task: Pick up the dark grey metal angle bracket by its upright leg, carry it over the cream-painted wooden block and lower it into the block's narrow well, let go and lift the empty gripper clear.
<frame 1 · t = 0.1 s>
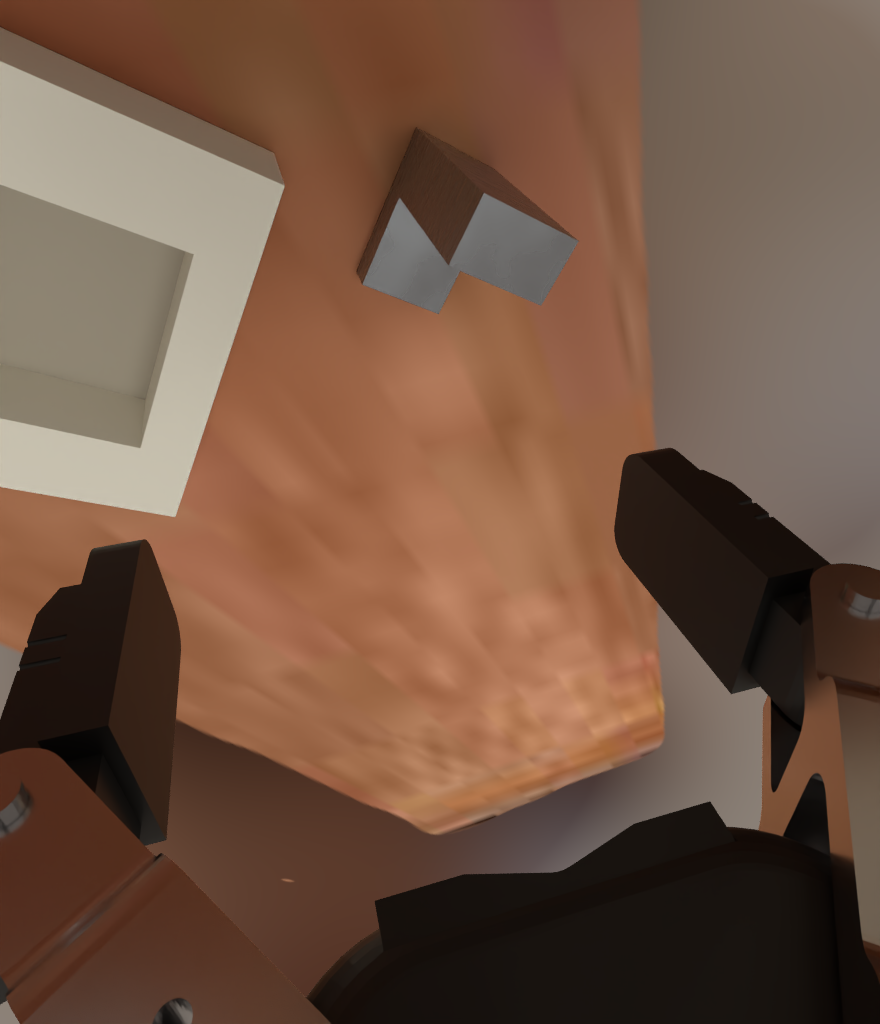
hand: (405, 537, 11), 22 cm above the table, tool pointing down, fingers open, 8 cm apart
well block: (74, 281, 28), on the table
bracket: (443, 177, 29), on the table
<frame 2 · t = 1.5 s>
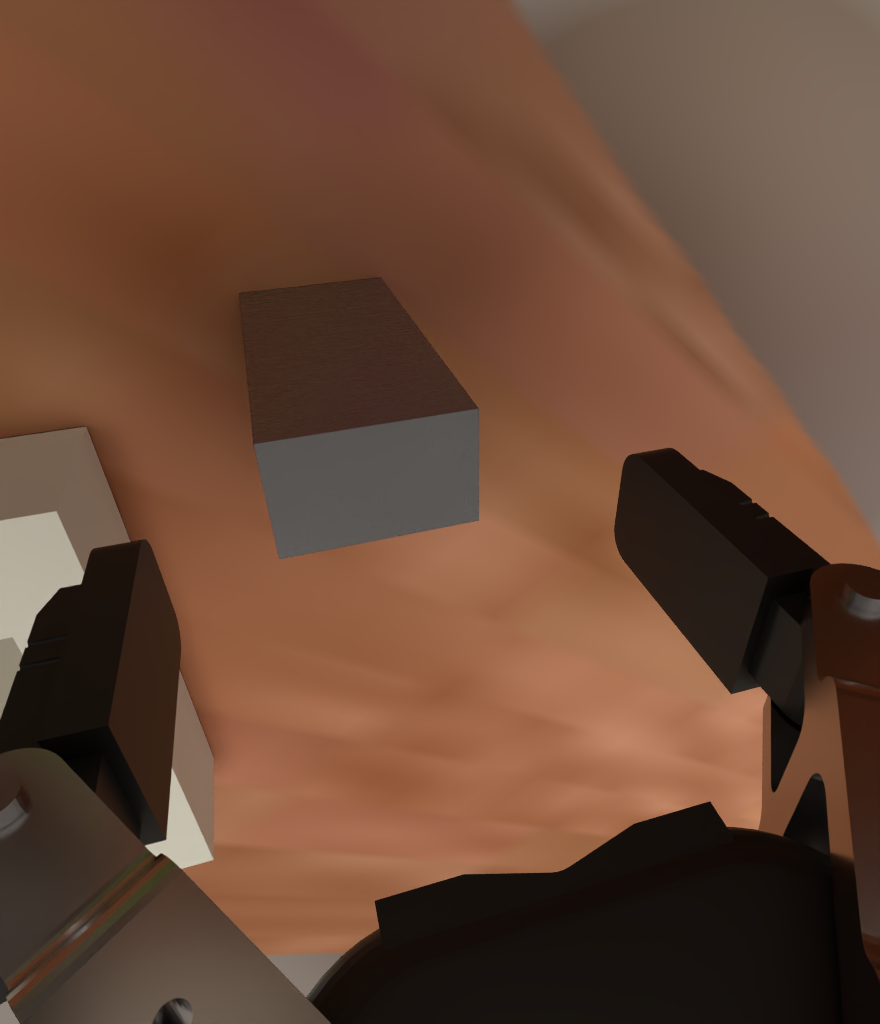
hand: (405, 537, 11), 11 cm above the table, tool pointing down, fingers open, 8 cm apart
bracket: (317, 328, 19), on the table
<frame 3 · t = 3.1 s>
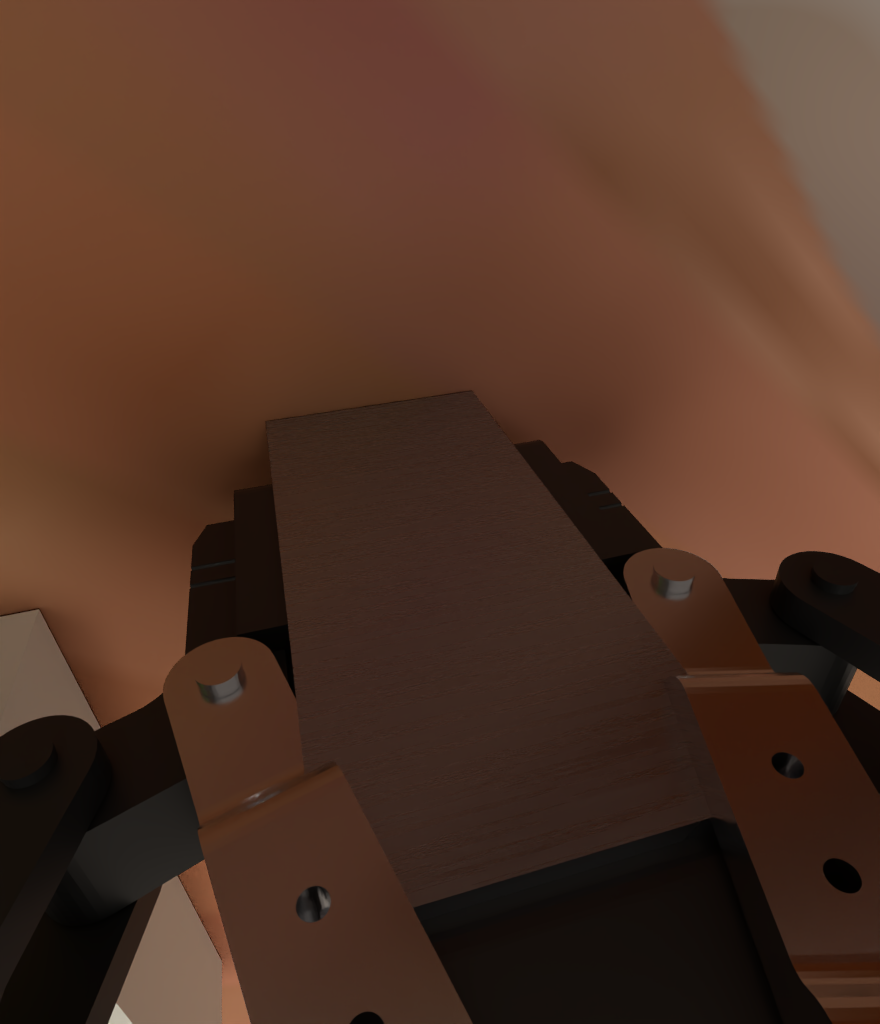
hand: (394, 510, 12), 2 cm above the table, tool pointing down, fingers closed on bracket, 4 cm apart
bracket: (378, 462, 13), on the table, touching gripper
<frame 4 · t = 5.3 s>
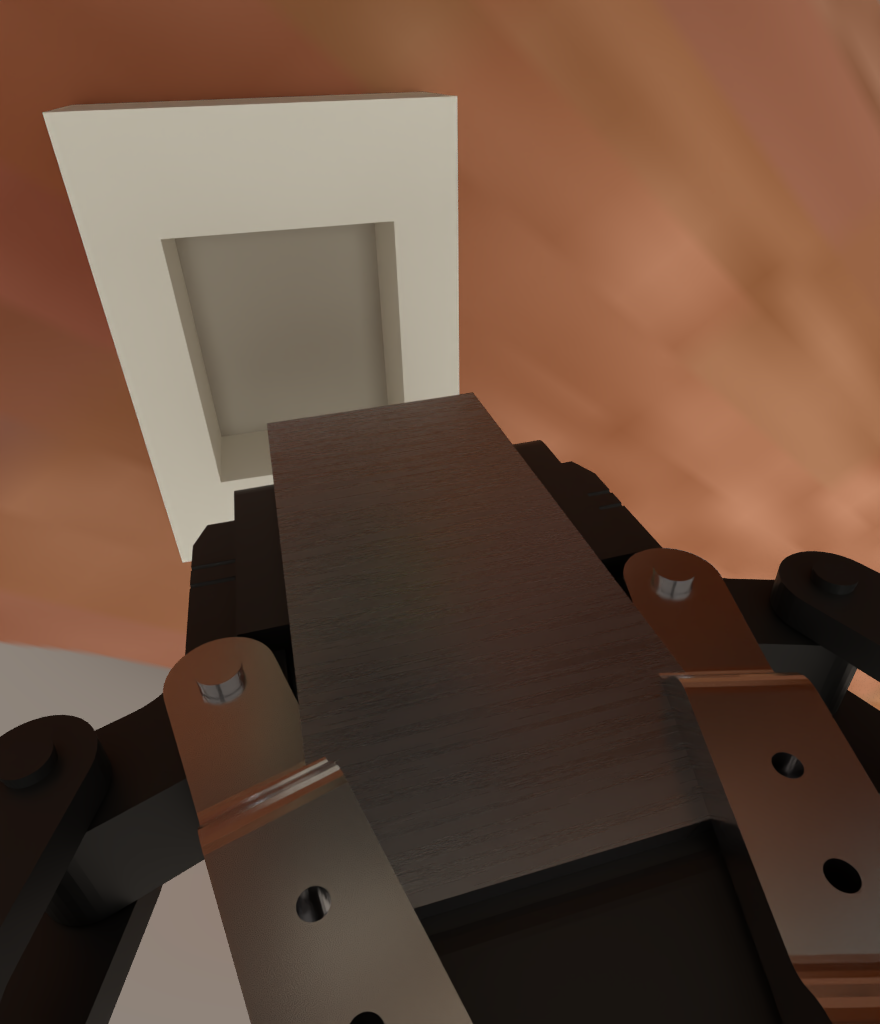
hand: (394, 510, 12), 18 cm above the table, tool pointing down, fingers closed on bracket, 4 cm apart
well block: (291, 323, 28), on the table
bracket: (378, 463, 13), point 17 cm above the table, touching gripper
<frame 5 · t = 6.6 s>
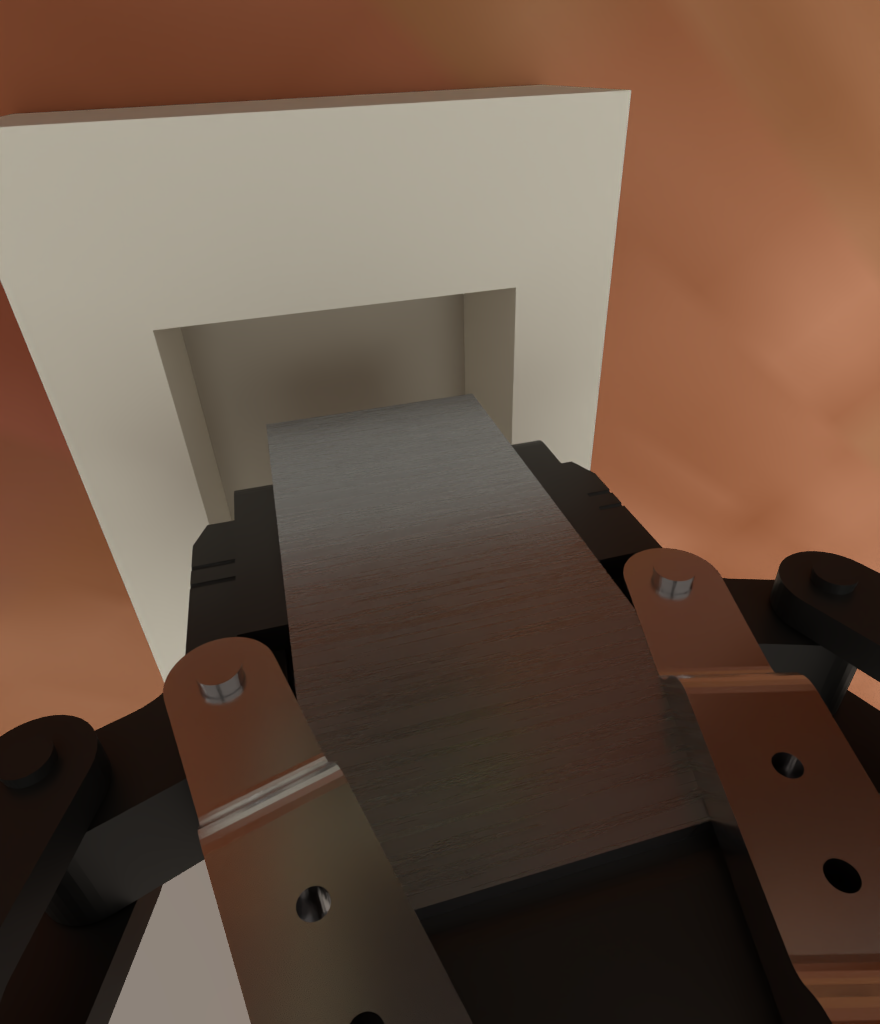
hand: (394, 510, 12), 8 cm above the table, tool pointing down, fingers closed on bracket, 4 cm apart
well block: (340, 413, 20), on the table
bracket: (378, 464, 13), point 7 cm above the table, touching gripper
when the fingers open (5 cm above the table, at t = 7.6 s): bracket drops 2 cm, resting on well block.
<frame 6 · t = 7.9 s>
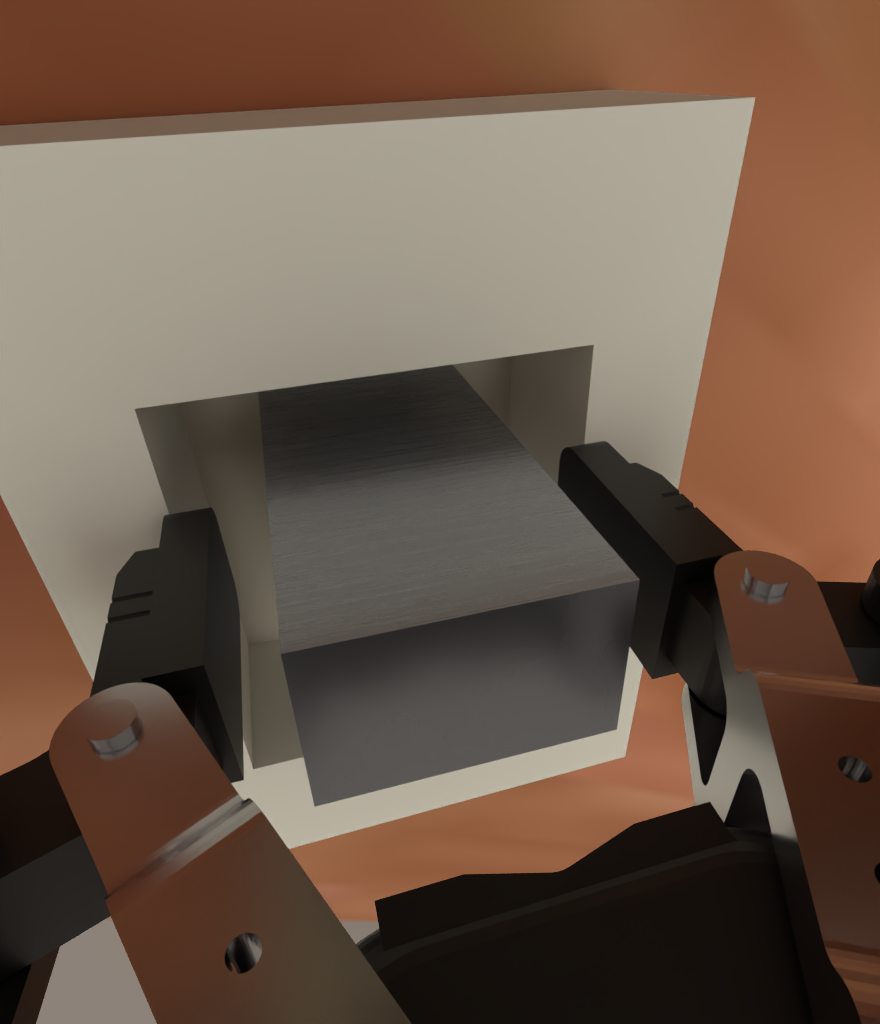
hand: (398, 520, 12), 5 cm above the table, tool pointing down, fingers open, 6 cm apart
well block: (362, 475, 17), on the table
bracket: (354, 410, 15), point 1 cm above the table, touching well block
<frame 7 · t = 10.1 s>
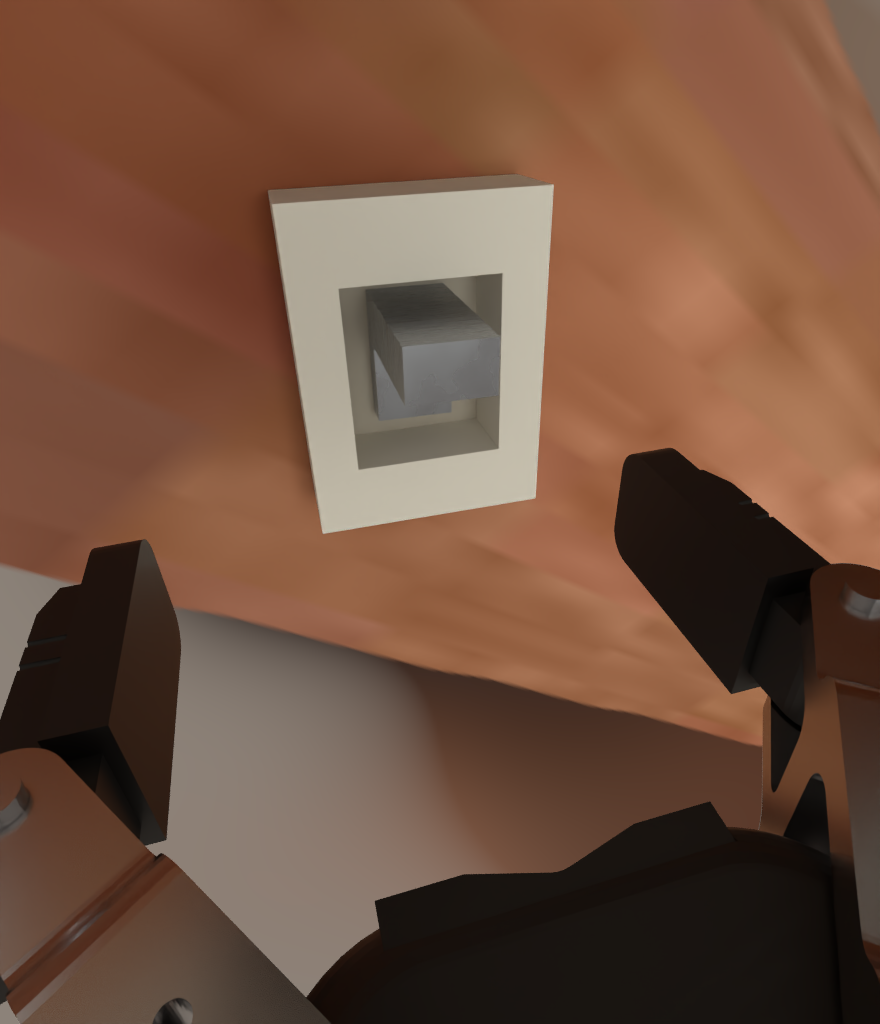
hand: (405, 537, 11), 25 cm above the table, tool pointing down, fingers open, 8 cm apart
well block: (406, 347, 35), on the table
bracket: (405, 311, 34), resting on well block
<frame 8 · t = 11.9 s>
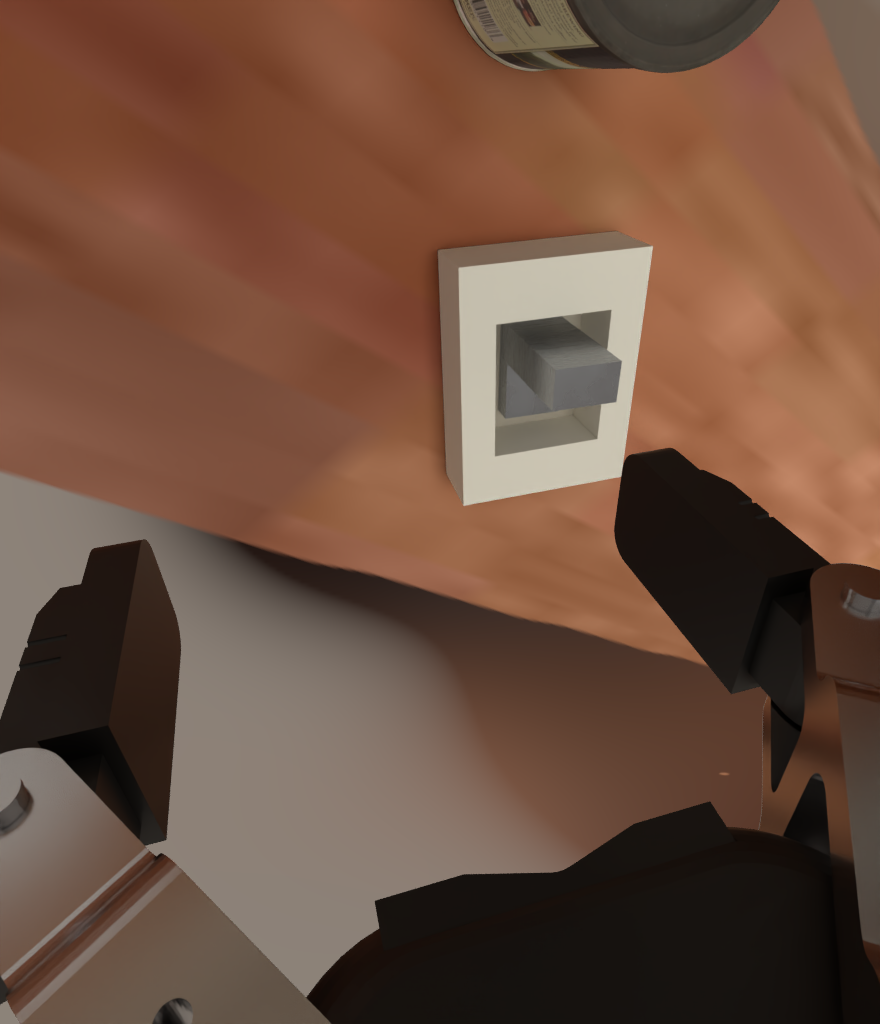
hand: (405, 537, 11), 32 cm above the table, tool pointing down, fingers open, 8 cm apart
well block: (525, 361, 46), on the table
bracket: (528, 334, 44), resting on well block
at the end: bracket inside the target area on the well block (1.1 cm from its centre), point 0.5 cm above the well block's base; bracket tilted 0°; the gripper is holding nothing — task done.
